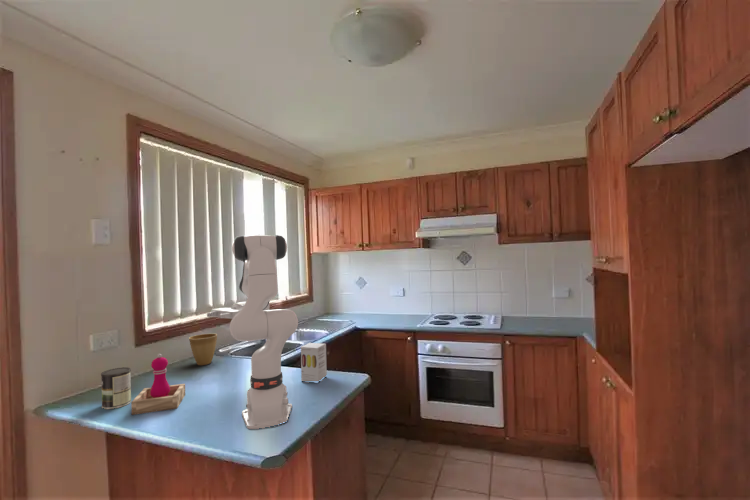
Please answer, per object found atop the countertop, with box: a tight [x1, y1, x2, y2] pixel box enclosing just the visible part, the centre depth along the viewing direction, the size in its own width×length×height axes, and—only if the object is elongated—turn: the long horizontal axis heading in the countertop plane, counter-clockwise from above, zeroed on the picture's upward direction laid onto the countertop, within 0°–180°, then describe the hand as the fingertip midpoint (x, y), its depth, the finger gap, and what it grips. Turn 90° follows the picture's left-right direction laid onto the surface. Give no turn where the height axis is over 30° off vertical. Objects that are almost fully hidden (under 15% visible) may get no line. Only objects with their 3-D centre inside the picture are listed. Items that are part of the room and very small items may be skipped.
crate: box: [130, 383, 186, 416], centre depth 153 cm, size 16×16×5 cm
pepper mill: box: [150, 353, 170, 398], centre depth 154 cm, size 7×7×20 cm
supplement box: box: [300, 342, 328, 381], centre depth 178 cm, size 10×9×17 cm
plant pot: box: [188, 333, 218, 366], centre depth 213 cm, size 15×15×16 cm
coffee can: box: [100, 366, 132, 410], centre depth 155 cm, size 10×10×14 cm
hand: (213, 315), depth 169 cm, fingers open, 8 cm apart
